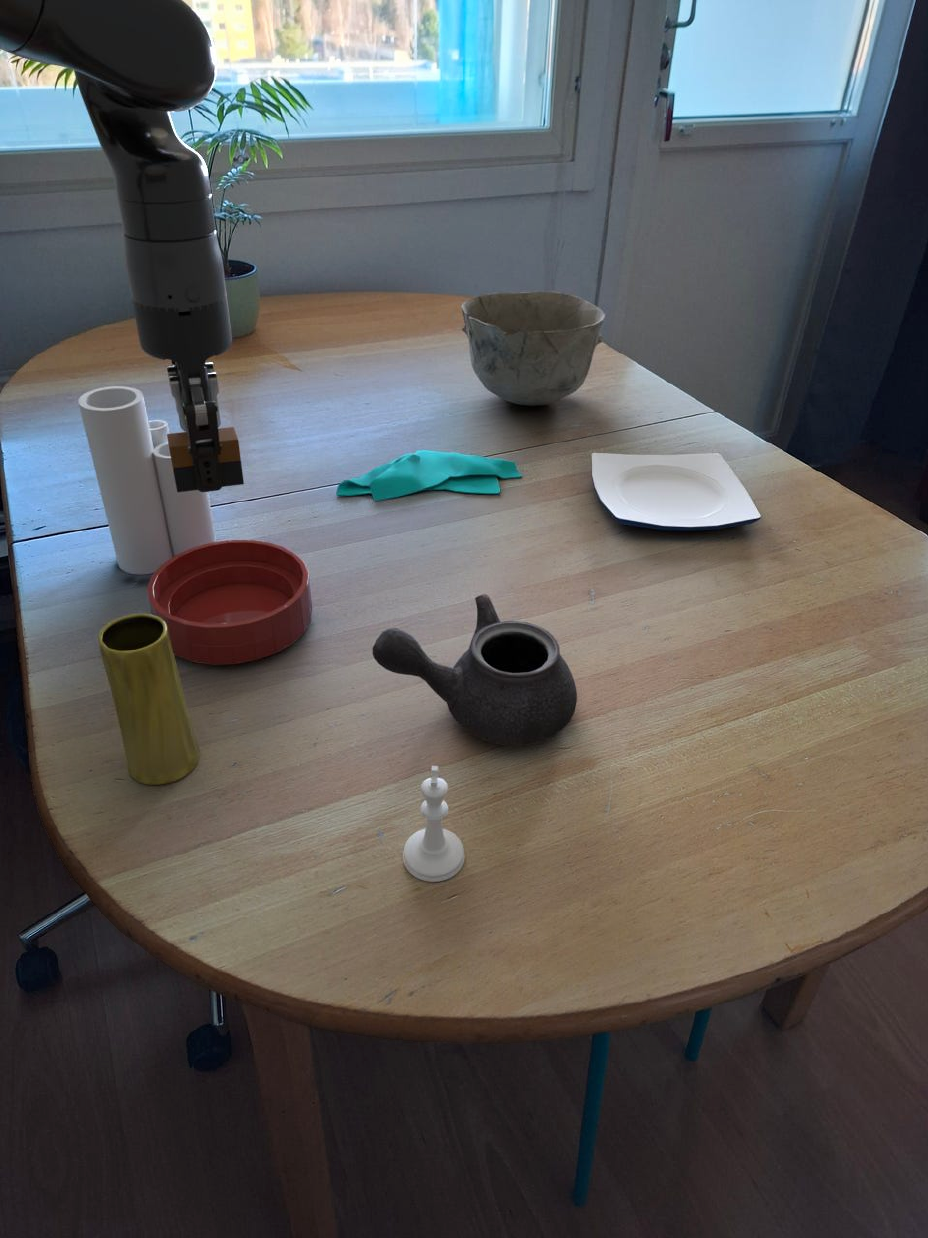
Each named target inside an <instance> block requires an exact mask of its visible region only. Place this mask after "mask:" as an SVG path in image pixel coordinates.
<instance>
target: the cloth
mask: <svg viewBox="0 0 928 1238" xmlns="http://www.w3.org/2000/svg"><path fill="white" fill-rule="evenodd" d="M522 476H523V475H522V473H521V471H519V470H518V467H517V464H516V461H512V460H508V459H503V458H489V457H486V456H482V455H478V454H475V455H473V454H463V453H460V452H459V453H458V452H455V451H454V452H443V451H436V450H428V449H427V450H426V449H418V450H417V451H415V453H406V454H404V455H401V456H400V457H398V458H396V459H394V460H392V461H390V462H386V463H384V464H381V465H378V466H376V467H375V468H372V469H371V470H370V471H368V472H366V473H365V474H364V475H362V476H360V477H353V478H350V479H345V480H343V481H341V482H340V483H339V484H338V485H337V489H336V492H335V495H336V496H337V497H353V496H360V495H372V498H373V500H374V502H379V501H384V500H391V499H396V498H401V497H404V496H407V495H411V494H415V493H418V492H421V491H443V490H446V491H450V492H454V493H465V494H476V495H477V494H480V495H500V493H501V489H500V484H499V480H498V478H501V479H502V480H507V479H517V478H522Z"/></svg>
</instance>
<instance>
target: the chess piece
mask: <svg viewBox="0 0 928 1238" xmlns="http://www.w3.org/2000/svg"><path fill="white" fill-rule="evenodd" d="M430 772H431V775H430V776H431V777H429V778H427V779H425V780H423V782H422V783H421V786H420V791H421V794H422V796H423V798H424V801H423V802H422V803H421V805H420V807H419V811H420V814H421V816H422V817H423V818H424V819H426V823H425V828H421V829H419V830H418V831H415V832H414V833H413V834H411V836H409V837H408V838H407V840H406V842H405V845H404V847H403V852H402V861H403V865H404V868H405V869H406V870H407V871H408V873H409V874H410V875H412V876H413V877H415V878H416V879H419V880H421V881H424V882H431V883H438V882H443V881H446V880H449V879H451V878H453V877H455V876H456V875H457V874H458V872H460V871H461V869H462V868H463V866H464V864H465V860H466V859H465V858H466V854H465V848H464V845H463V842H462V841H461V838H460V837H459V836H458V835H456V834H455V833H454V832H452V831H450V830H449V829H446V828H444V827H443V823H442V820H443V819H444V818H445V817H447V815H448V814H449V806H448V803H447V802H446V801H445V800H444V799H445V797H446V795H447V793H448V791H449V785H448V783H447V782H446V780H445V779H443V778H441V777H438V775H439V766H438V765H431V770H430Z"/></svg>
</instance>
